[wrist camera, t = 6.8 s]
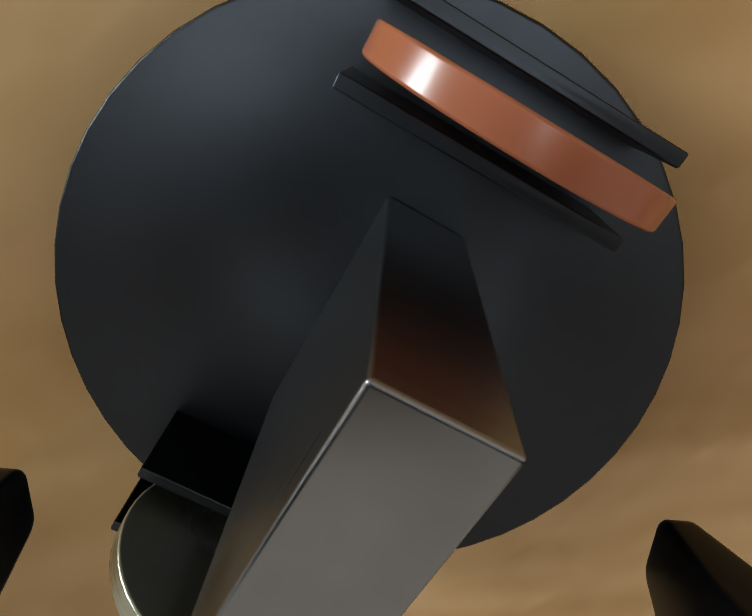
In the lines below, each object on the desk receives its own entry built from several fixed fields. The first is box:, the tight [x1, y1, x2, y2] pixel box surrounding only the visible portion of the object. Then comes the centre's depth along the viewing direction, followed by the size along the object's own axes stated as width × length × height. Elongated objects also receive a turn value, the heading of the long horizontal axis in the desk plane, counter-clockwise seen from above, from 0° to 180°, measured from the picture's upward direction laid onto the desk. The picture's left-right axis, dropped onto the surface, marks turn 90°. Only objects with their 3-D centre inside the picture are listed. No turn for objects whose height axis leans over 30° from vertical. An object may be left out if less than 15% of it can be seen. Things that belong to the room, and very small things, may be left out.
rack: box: [55, 0, 688, 616], centre depth 12 cm, size 15×15×9 cm
